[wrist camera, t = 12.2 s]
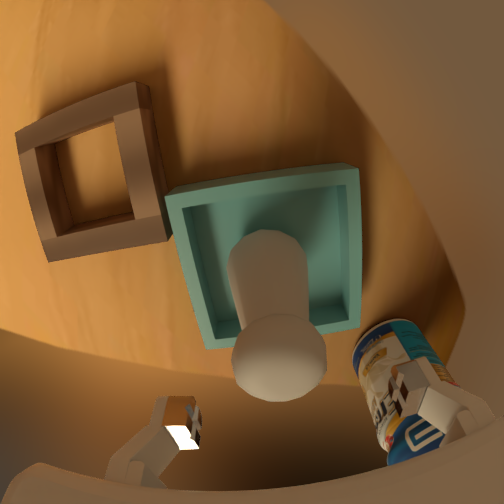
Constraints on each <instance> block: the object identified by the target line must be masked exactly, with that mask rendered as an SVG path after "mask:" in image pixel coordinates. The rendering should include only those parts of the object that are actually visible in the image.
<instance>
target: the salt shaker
mask: <svg viewBox="0 0 504 504" xmlns="http://www.w3.org/2000/svg"><path fill="white" fill-rule="evenodd" d="M226 269H227V274H228V279H229V283H230V287H231V291H232V295H233V299H234V303H235V307H236V310H237V314H238V318H239V322H240V325H241V329H242V331H241V332H240V333H239V334H238V336H237V339H236V342H235V345H234V348H233V352H232V358H231V362H232V367H233V371H234V375H235V378H236V381H237V384H238V385H239V386H240V387H241V388H242V389H244V390H245V391H246V392H247V393H249V394H250V395H252V396H254V397H257V398H260V399H263V400H267V401H288V400H292V399H295V398H299V397H302V396H303V395H305V394H306V393H307V392H309V391H310V390H312V389H313V388H314V387H316V386H317V385H318V384H319V383H320V381H321V379H322V378H323V376H324V375H325V373H326V371H327V359H326V345H325V342H324V340H323V338H322V336H321V335H320V333H319V332H318V331H317V329H316V328H315V327H314V325H313V324H312V323H311V322H310V321H309V284H308V265H307V257H306V254H305V252H304V251H303V249H302V248H301V246H300V245H299V243H298V242H297V240H296V239H295V238H293V237H291V236H289V235H287V234H285V233H283V232H281V231H279V230H265V229H260V230H258V231H255V232H253V233H251V234H248V235H246V236H244V237H243V238H242V239H241V240H240V241H239V242H238V243H237V244H236V245H235V246H234V247H233V248H232V249H231V251H230V254H229V258H228V262H227V266H226Z"/></svg>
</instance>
